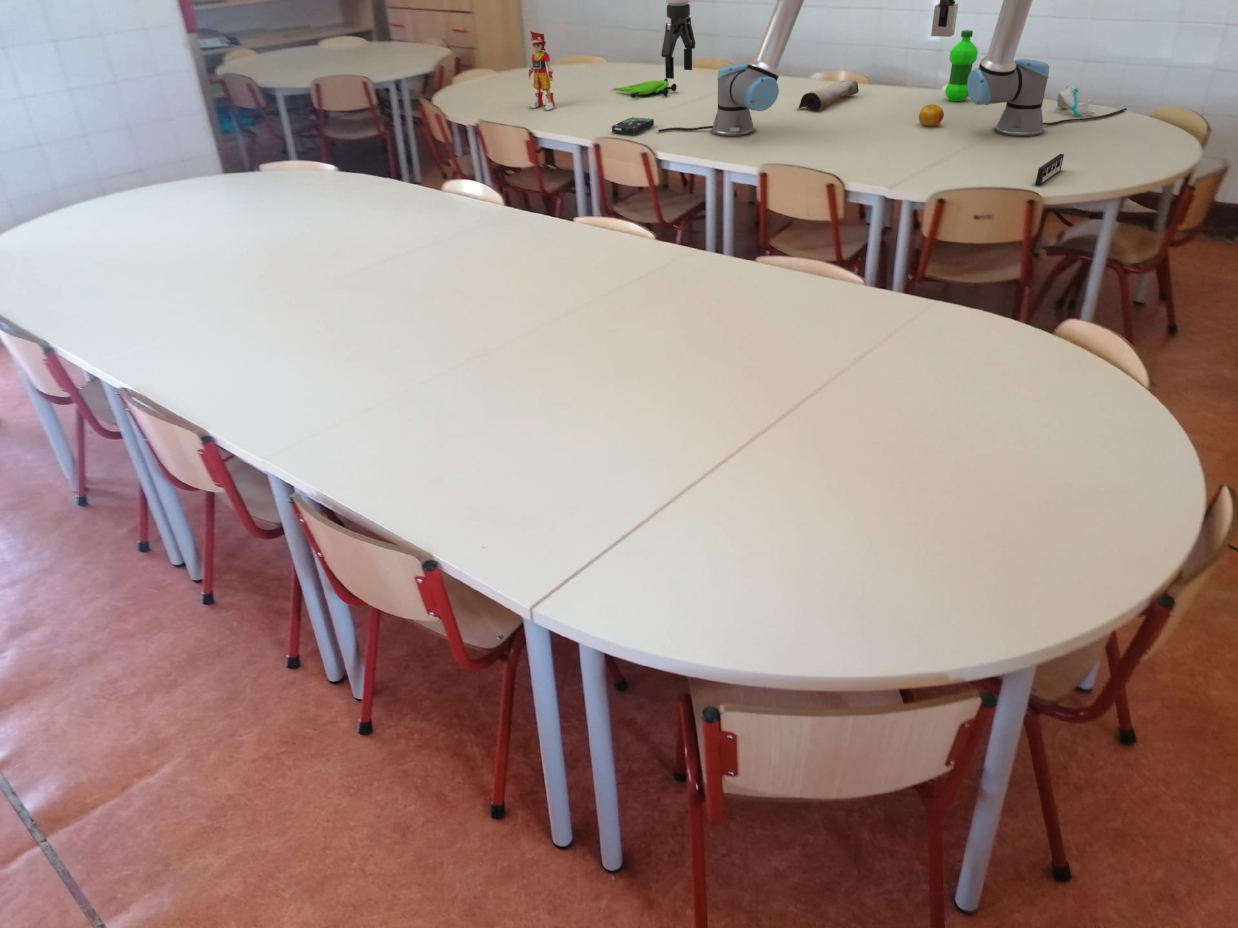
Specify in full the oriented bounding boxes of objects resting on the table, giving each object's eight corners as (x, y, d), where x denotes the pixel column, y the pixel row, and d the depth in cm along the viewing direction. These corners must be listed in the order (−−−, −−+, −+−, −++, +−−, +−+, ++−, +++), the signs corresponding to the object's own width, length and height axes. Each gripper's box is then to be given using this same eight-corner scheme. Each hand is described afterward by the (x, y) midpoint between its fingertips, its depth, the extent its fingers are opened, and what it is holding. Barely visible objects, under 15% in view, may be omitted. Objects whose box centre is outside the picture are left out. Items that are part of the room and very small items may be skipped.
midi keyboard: (1039, 185, 269) (1043, 168, 266) (1035, 184, 270) (1038, 168, 267) (1060, 170, 279) (1064, 154, 277) (1056, 169, 280) (1060, 153, 277)
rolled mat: (834, 85, 375) (850, 69, 367) (846, 103, 376) (863, 88, 367) (794, 103, 358) (811, 87, 350) (807, 122, 358) (824, 107, 350)
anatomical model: (1050, 84, 335) (1077, 77, 334) (1049, 112, 341) (1076, 105, 340) (1070, 94, 323) (1098, 86, 322) (1069, 123, 328) (1096, 115, 328)
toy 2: (686, 85, 398) (631, 84, 414) (685, 72, 395) (629, 72, 411) (651, 104, 381) (596, 103, 397) (650, 92, 378) (594, 91, 394)
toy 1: (525, 109, 381) (517, 32, 364) (534, 104, 388) (527, 28, 371) (550, 110, 377) (543, 32, 360) (559, 105, 384) (553, 28, 367)
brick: (930, 36, 332) (934, 5, 326) (934, 33, 336) (938, 3, 330) (950, 37, 329) (955, 6, 323) (954, 34, 333) (958, 4, 327)
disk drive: (634, 136, 338) (654, 126, 348) (634, 128, 336) (654, 118, 346) (611, 133, 343) (631, 123, 353) (611, 126, 341) (631, 116, 351)
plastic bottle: (975, 99, 356) (987, 30, 342) (958, 104, 351) (969, 35, 337) (955, 95, 363) (965, 28, 349) (937, 100, 358) (947, 32, 344)
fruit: (913, 117, 326) (928, 97, 323) (915, 120, 333) (929, 101, 330) (933, 130, 324) (947, 110, 321) (933, 133, 332) (948, 113, 329)
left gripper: (670, 10, 279) (672, 83, 291) (705, -2, 296) (705, 67, 308) (649, 10, 282) (651, 81, 294) (685, -3, 299) (685, 66, 311)
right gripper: (958, -44, 309) (948, 30, 322) (970, -50, 322) (960, 21, 335) (936, -44, 312) (927, 29, 326) (949, -50, 325) (939, 21, 338)
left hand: (679, 74), depth 301 cm, fingers open, 13 cm apart
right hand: (943, 25), depth 330 cm, fingers closed on brick, 5 cm apart
